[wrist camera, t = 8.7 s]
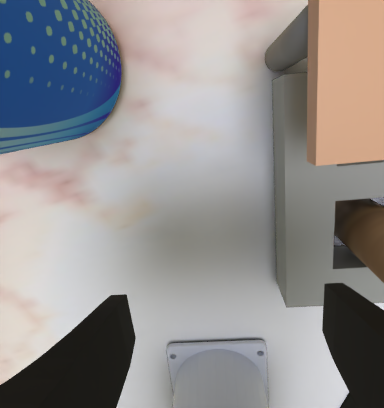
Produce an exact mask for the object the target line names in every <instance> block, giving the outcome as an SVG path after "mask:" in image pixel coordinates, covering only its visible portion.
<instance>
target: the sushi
mask: <svg viewBox="0 0 384 408" xmlns="http://www.w3.org/2000/svg"><path fill="white" fill-rule="evenodd" d="M340 408H358V407H357V405H356V403H355V401H354V400H353V398H352V396H351V394H350V392H349V394H348V395H347V397H346V399H345V400H344V402H343V403H342V405H341V407H340Z"/></svg>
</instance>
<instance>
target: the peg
mask: <svg viewBox="0 0 384 408" xmlns="http://www.w3.org/2000/svg"><path fill="white" fill-rule="evenodd" d="M334 234H335V235H336V236H337V237H338V238H339V239H340V240H341V241H342V242H343V243H344V244H345V245H346V246H347V247H348V248H349V249H350V250H351V251H352V252H353V253H354V254H355V255H356V256H357V257H358V258H359V259H360V260H361V261H362V262H363V263H364V264H365V265H366V266H367V267H368V268H369V269H370V270H371V271H372V272H373V273H374V274H375V275H376V276H377V277H378V278H379V279H380V280H381V281H382V282H383V283H384V206H382V205H380V204H378V203H377V202H375V201H373V200H371V199H369V198H368V199H355V200H343V201H335V225H334Z"/></svg>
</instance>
